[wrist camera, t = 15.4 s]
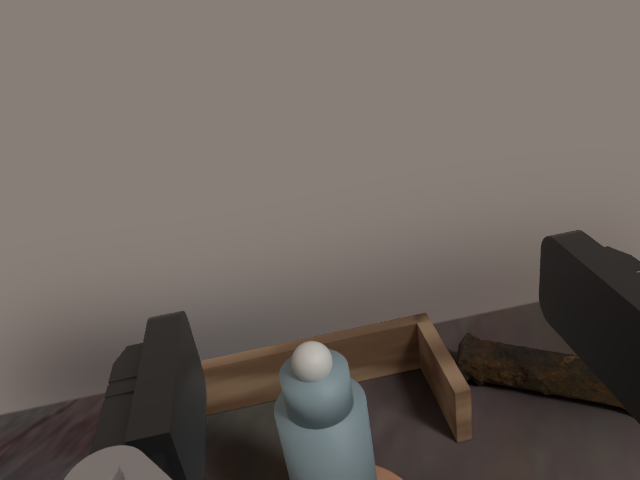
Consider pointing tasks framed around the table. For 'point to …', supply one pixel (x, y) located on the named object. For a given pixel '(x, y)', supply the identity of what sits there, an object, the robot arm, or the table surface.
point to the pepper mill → (323, 418)
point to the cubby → (364, 363)
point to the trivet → (385, 474)
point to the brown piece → (531, 370)
